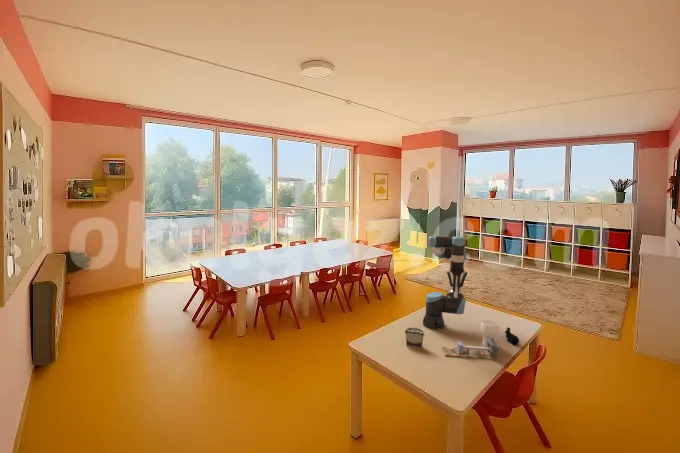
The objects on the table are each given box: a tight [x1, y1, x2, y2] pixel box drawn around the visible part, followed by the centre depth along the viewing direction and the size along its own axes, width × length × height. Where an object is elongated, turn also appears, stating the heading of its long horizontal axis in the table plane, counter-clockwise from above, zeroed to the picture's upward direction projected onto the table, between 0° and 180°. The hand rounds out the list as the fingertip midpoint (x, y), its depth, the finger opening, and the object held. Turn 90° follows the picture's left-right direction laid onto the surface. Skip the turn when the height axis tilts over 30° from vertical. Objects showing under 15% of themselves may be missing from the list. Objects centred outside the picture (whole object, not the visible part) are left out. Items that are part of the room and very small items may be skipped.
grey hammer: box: [456, 340, 490, 355], centre depth 191 cm, size 19×7×5 cm, turn 82°
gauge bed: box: [441, 339, 500, 360], centre depth 192 cm, size 30×9×8 cm, turn 82°
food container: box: [404, 327, 426, 349], centre depth 204 cm, size 12×6×10 cm, turn 71°
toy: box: [504, 326, 520, 346], centre depth 209 cm, size 15×5×7 cm, turn 174°
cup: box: [480, 319, 500, 347], centre depth 201 cm, size 11×11×15 cm
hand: (455, 296), depth 205 cm, fingers closed
